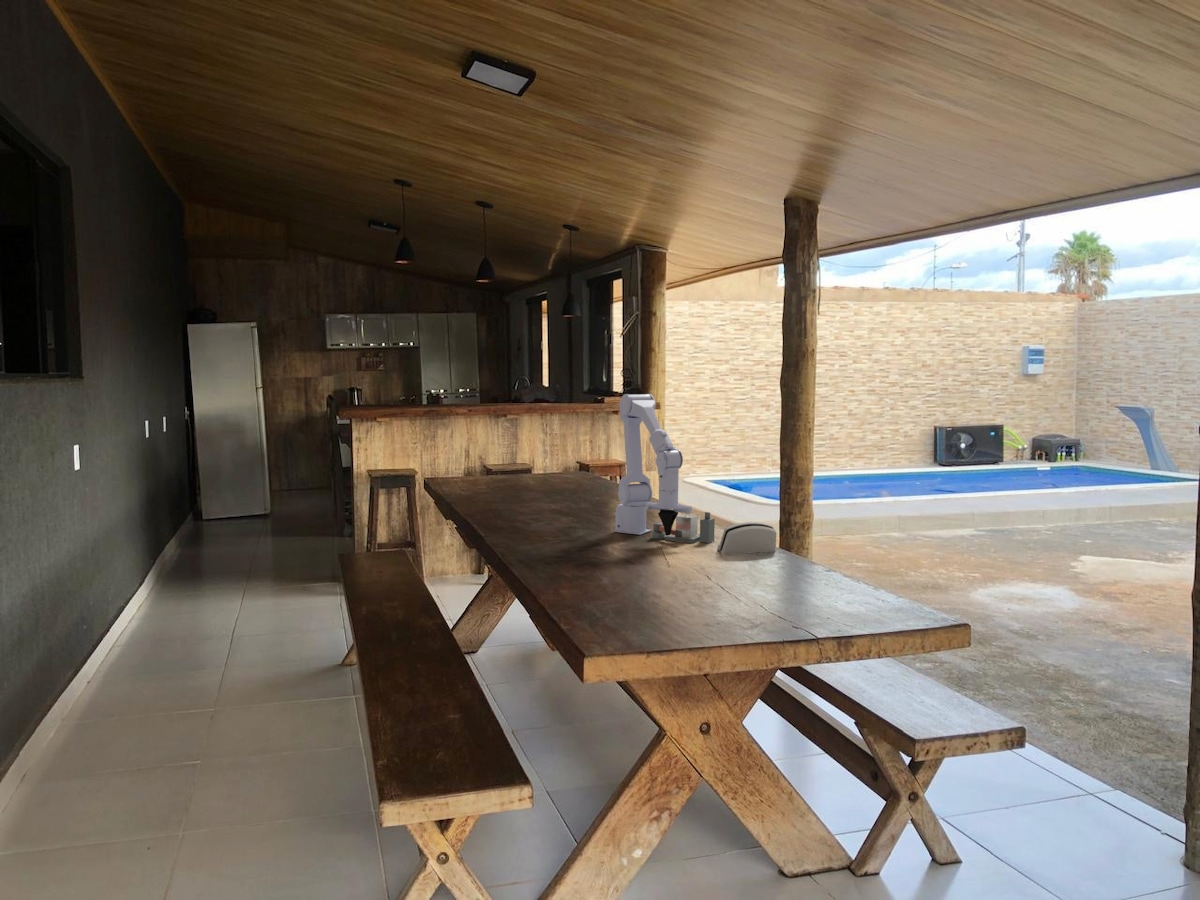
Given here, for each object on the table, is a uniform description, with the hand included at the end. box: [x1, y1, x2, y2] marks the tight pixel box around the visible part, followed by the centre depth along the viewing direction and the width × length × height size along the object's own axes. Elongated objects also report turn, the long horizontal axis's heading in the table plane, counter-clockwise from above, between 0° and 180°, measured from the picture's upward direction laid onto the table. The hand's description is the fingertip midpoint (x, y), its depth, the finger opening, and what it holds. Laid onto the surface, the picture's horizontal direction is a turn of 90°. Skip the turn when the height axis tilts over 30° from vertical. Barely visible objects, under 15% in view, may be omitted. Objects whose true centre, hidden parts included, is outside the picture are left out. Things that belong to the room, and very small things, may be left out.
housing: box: [675, 513, 699, 538], centre depth 287 cm, size 5×5×6 cm
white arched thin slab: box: [716, 521, 777, 555], centre depth 269 cm, size 17×5×10 cm, turn 106°
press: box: [651, 511, 716, 544], centre depth 287 cm, size 18×10×9 cm, turn 59°
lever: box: [652, 522, 682, 537], centre depth 284 cm, size 3×14×2 cm, turn 28°
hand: (667, 535), depth 280 cm, fingers closed
